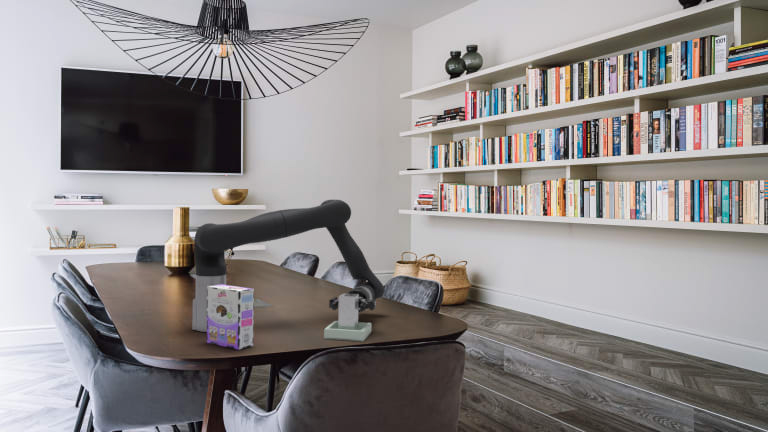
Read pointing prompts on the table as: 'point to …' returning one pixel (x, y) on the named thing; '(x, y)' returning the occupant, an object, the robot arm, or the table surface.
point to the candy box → (230, 316)
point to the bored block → (348, 311)
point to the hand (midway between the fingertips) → (347, 307)
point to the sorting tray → (347, 332)
